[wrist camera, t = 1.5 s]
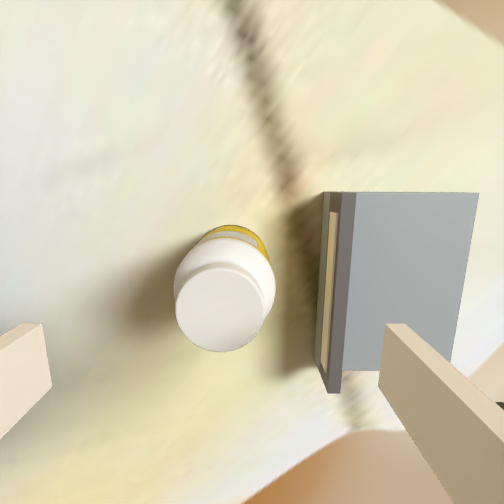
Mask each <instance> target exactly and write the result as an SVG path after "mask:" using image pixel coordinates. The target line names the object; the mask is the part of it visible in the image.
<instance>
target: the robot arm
mask: <svg viewBox="0 0 504 504" xmlns="http://www.w3.org/2000/svg"><path fill="white" fill-rule="evenodd" d="M51 387H52V382H51V376H50V369H49V363H48V357H47V351H46V345H45V339H44V332H43V326H42V323H21V324H19V325H18V326H16V327H14V328H13V329H11V330H9V331H8V332H6V333H4V334H3V335H1V336H0V439H1V438H2V437H3V436H4V435H5V434H6V433H7V432H8V431H9V430H10V429H11V428H12V427H13V426H14V425H15V424H16V423H17V422H18V421H19V420H20V419H21V418H22V417H23V416H24V415H25V414H26V413H27V412H28V411H29V410H30V409H31V408H32V407H33V406H34V405H35V404H36V403H37V402H38V401H39V400H40V399H41V398H42V397H43V396H44V395H45V394H46V393H47V392H48V391H49V390H50V388H51ZM378 387H379V389H380V390H381V392H382V393H383V395H384V396H385V398H386V399H387V401H388V402H389V404H390V406H391V407H392V409H393V410H394V412H395V413H396V415H397V416H398V418H399V419H400V421H401V423H402V424H403V426H404V427H405V429H406V430H407V432H408V433H409V435H410V436H411V438H412V440H413V441H414V443H415V444H416V446H417V447H418V449H419V450H420V452H421V453H422V455H423V457H424V458H425V460H426V461H427V463H428V464H429V466H430V467H431V469H432V470H433V472H434V473H435V475H436V477H437V478H438V480H439V481H440V483H441V484H442V486H443V487H444V489H445V490H446V492H447V493H448V495H449V497H450V498H451V500H452V501H453V503H454V504H504V403H503V402H494V401H493V400H492V399H490V398H489V397H488V396H487V395H486V394H485V393H484V392H483V391H481V390H480V389H479V388H478V387H477V386H476V385H475V384H473V383H472V382H471V381H470V380H469V379H468V378H467V377H465V376H464V375H463V374H462V373H461V372H460V371H459V370H457V369H456V368H455V367H454V366H453V365H452V364H451V363H449V362H448V361H447V360H446V359H445V358H444V357H443V356H441V355H440V354H439V353H438V352H437V351H436V350H435V349H433V348H432V347H431V346H430V345H429V344H428V343H427V342H425V341H424V340H423V339H422V338H421V337H420V336H419V335H417V334H416V333H415V332H414V331H413V330H412V329H411V328H409V327H408V326H407V325H406V324H385V330H384V338H383V347H382V356H381V365H380V374H379V383H378Z"/></svg>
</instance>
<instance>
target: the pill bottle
mask: <svg viewBox="0 0 504 504" xmlns="http://www.w3.org/2000/svg"><path fill="white" fill-rule="evenodd" d="M173 290H174V298H175V302H176V304H175V315H176V320H177V323H178V325H179V328H180V329H181V331H182V333H183V334H184V335H185V336H186V337H187V338H188V339H189V340H190V341H191V342H192V343H193V344H195V345H197V346H198V347H200V348H203V349H205V350H209V351H213V352H227V351H233V350H236V349H238V348H241V347H243V346H244V345H246V344H248V343H249V342H250V341H251V340H252V339H253V338H254V337H255V336H256V335H257V333H258V332H259V330H260V328H261V326H262V324H263V321H264V319H265V318H266V317H267V315H268V313H269V312H270V310H271V308H272V305H273V302H274V298H275V291H276V285H275V278H274V274H273V270H272V267H271V264H270V261H269V258H268V255H267V252H266V249H265V246H264V244H263V243H262V241H261V240H260V238H259V237H258V236H257V235H256V234H254V233H253V232H252V231H250V230H249V229H247V228H244V227H242V226H237V225H224V226H220V227H217V228H215V229H213V230H211V231H210V232H208V233H207V234H206V235H205V236H204V237H203V238H202V239H201V240H200V241H199V242H198V243H197V244H196V245H195V246H194V247H193V248H192V249H191V250H190V251H189V253H188V254H187V255H186V256H185V257H184V259H183V260H182V262H181V263H180V265H179V267H178V269H177V271H176V275H175V279H174V288H173Z"/></svg>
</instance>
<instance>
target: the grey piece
mask: <svg viewBox="0 0 504 504" xmlns="http://www.w3.org/2000/svg"><path fill="white" fill-rule="evenodd" d="M478 198H479V193H464V192H324V198H323V215H322V232H321V249H320V267H319V284H318V301H317V318H316V335H315V352H314V359H315V362H316V364H317V367H318V369H319V372H320V374H321V377H322V380H323V382H324V385H325V387H326V390H327V392H328V393H340V389H341V377H342V371H380V365H381V356H382V347H383V338H384V330H385V324H406V325H407V326H408V327H409V328H411V329H412V330H413V331H414V332H415V333H416V334H417V335H419V336H420V337H421V338H422V339H423V340H424V341H425V342H427V343H428V344H429V345H430V346H431V347H432V348H433V349H435V350H436V351H437V352H438V353H439V354H440V355H441V356H443V357H444V358H445V359H446V360H447V361H448V362H449V363H450V361H451V355H452V349H453V343H454V338H455V332H456V326H457V320H458V314H459V308H460V303H461V297H462V291H463V285H464V279H465V274H466V268H467V262H468V256H469V250H470V244H471V239H472V233H473V227H474V221H475V215H476V209H477V204H478Z"/></svg>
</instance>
